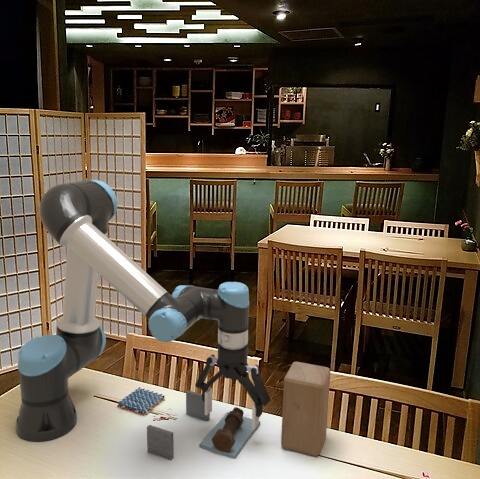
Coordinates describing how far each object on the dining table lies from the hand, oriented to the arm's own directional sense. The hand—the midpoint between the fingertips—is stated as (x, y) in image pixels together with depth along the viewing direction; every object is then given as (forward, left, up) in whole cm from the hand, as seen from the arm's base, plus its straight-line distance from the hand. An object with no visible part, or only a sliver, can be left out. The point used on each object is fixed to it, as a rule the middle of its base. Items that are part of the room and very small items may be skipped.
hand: (231, 419), depth 130 cm
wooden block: (+18, +6, -5) cm, 20 cm away
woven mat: (-30, +2, -5) cm, 31 cm away
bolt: (0, -1, -4) cm, 4 cm away
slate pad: (0, 0, -5) cm, 5 cm away
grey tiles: (-12, -6, -5) cm, 14 cm away
